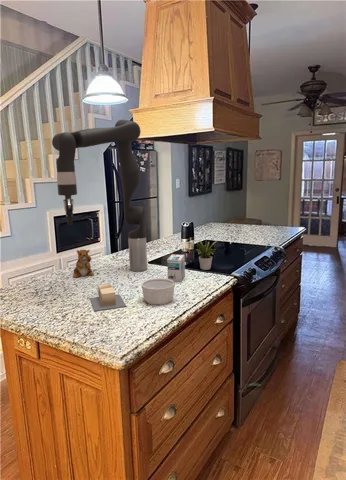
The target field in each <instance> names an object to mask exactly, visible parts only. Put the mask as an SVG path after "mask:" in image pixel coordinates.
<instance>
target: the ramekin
mask: <svg viewBox="0 0 346 480" xmlns="http://www.w3.org/2000/svg"><path fill="white" fill-rule="evenodd" d="M175 283H176V282H174V281H172V280H169V279H168V278H164V277H163V278H158V277H157V278H150V279H147V280H144V281H143V282H142V283H141V289H142V294H143V299H144V301H145V302H146V303H148V304H150V305H164V304H168V303H170V302H171V301H172V300H173V299H174V293H175V286H176V285H175Z"/></svg>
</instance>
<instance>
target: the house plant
mask: <svg viewBox="0 0 346 480" xmlns="http://www.w3.org/2000/svg"><path fill="white" fill-rule="evenodd" d="M192 241H193V242H195V243H196V244H197V245H196V244H195V246H196V247H197V249H195V251H196V252H197V253H198V254H197V255H199V256H198V261H199V267H200V269H201V270H204V271H207V270H211V268H212V261H213V256H211V254H212V255H214V251H216V250H217V249H216V248H215V249H212V247H213V246H214V245H215V243H216V242H218V240H216V241H214V242H213V243H212V244H211V245H210V241H209V240H208V241H206V242H205V244H203V241H202V240H201V239H199V240H198V242H199V243H198V242H197V241H196V240H194V239H193V240H192Z"/></svg>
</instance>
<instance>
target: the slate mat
mask: <svg viewBox="0 0 346 480" xmlns="http://www.w3.org/2000/svg"><path fill="white" fill-rule="evenodd" d="M115 298H116V305H111V306H104V307H103V306H102V304H101V301H100V299H99V296H96V297H89V299H90V303H91V306H92V309H93V312H101V311H102V312H103V311H108V310H114V309H121V308H127V305H126V303H125V301H124V300H123V297H122V296H121V295H120V293H117V294H116V293H115Z"/></svg>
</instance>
